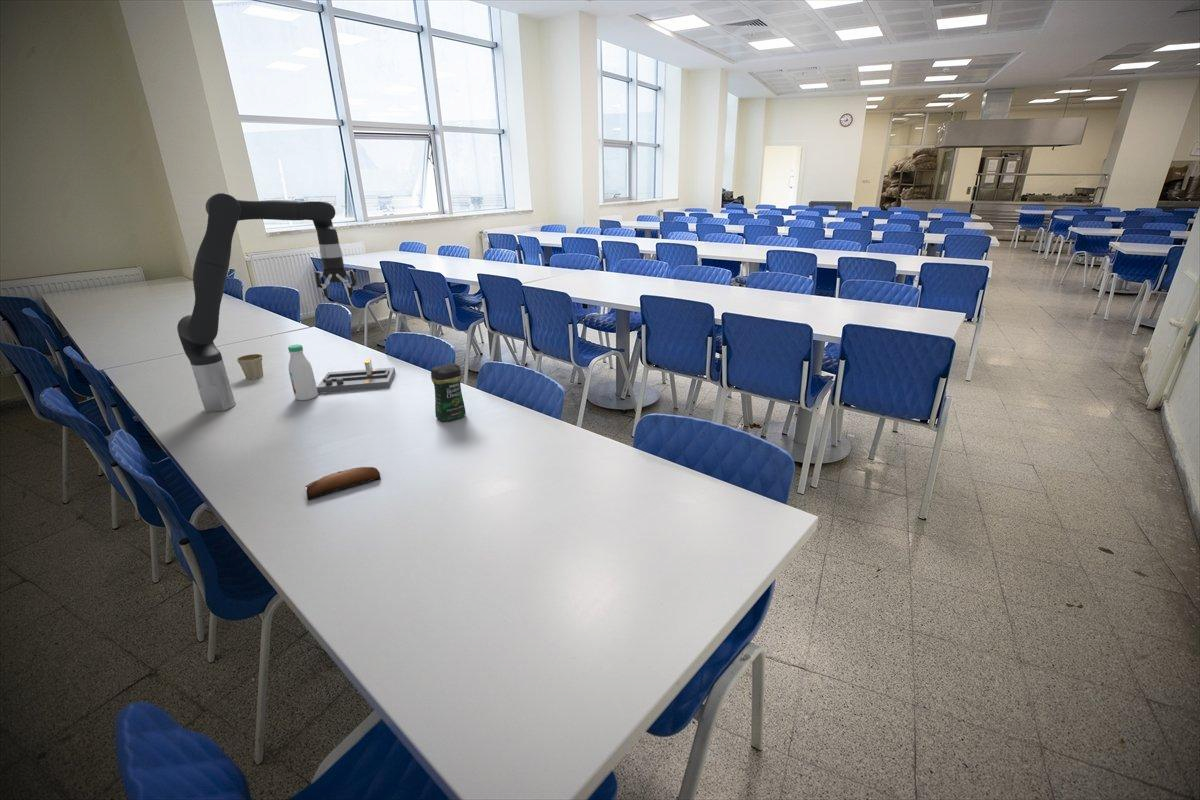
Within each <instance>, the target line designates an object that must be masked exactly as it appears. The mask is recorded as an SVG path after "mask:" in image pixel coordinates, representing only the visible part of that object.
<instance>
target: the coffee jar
mask: <svg viewBox="0 0 1200 800" xmlns="http://www.w3.org/2000/svg"><path fill="white" fill-rule="evenodd" d="M462 376H463V375H462V371H461V367H460V365H459V364H458V363H455V362H452V363H447V364H442V365H438V366H433V367H431V369H430V378H431V382H432V384H433V387H434V397H435V398H434V400H435V401H434V402H435V403H434V405H435V406H434V407H435V409H434V410H435V411H434V413H435V417H436V419H437V420H439V421H441V422H451V421H455V420H458V419H460V418H463V417H465V416H466V414H467V413H466V406H465V401H464V398H463V394H462V387H461V380H462Z"/></svg>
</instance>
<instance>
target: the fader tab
mask: <svg viewBox="0 0 1200 800" xmlns="http://www.w3.org/2000/svg"><path fill="white" fill-rule="evenodd" d="M364 368H365V370H366V373H367V376H372V375H373V369H374V368H373V364H372V359H371V358H368V359H366V360H365V361H364Z"/></svg>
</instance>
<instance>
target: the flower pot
mask: <svg viewBox="0 0 1200 800" xmlns="http://www.w3.org/2000/svg"><path fill="white" fill-rule="evenodd" d="M263 356H264V355H263V354H262V353H259V354H258V353H252V354H245V355H241V356H238V357H237V358H235V360H236V362H237V363H238V365H239V366H240V367H241V370H242V372H243V374H244V376H245V379H246V380H253V379H255V380H256V379H260V378H263V376H264V369H263Z"/></svg>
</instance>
